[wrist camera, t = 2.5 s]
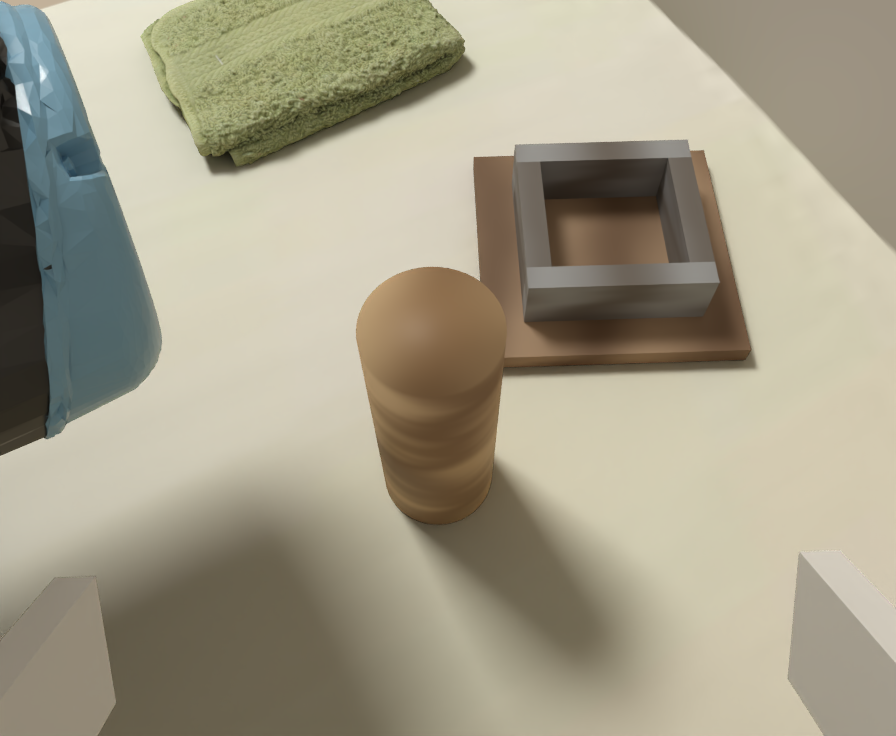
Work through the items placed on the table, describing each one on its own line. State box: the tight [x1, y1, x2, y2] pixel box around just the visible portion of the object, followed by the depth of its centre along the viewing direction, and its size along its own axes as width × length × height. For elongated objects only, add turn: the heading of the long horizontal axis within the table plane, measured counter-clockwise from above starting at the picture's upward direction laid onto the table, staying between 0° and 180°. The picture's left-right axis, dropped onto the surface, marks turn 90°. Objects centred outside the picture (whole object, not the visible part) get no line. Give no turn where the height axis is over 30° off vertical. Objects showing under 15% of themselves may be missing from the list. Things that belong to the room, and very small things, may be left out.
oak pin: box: [356, 267, 507, 525], centre depth 33 cm, size 5×5×13 cm
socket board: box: [473, 140, 751, 367], centre depth 43 cm, size 13×13×4 cm
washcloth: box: [141, 0, 465, 167], centre depth 52 cm, size 13×18×3 cm
